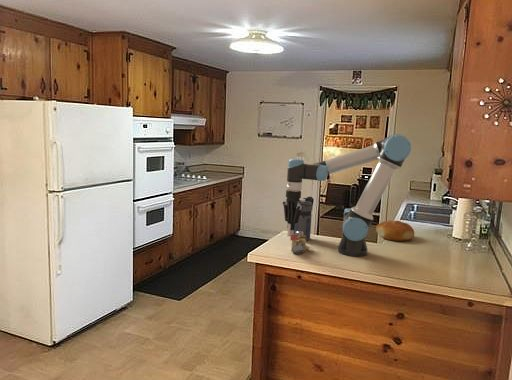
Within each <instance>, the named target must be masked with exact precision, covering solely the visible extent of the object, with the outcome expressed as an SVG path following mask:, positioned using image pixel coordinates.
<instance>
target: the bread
mask: <svg viewBox="0 0 512 380" xmlns="http://www.w3.org/2000/svg"><path fill="white" fill-rule="evenodd" d="M375 230H376V233H377V235H378V236H379V237H380V238H382V239H384V240H387V241H393V242H405V241H407V242H408V241H410V240H412V239H413V238H414V236H415V230H414V228H413V227H412V226H411V225H410V224H408V223H405V222H404V221H400V220H386V221H382V222H379V223H378V224H377V225H376V226H375Z"/></svg>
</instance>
